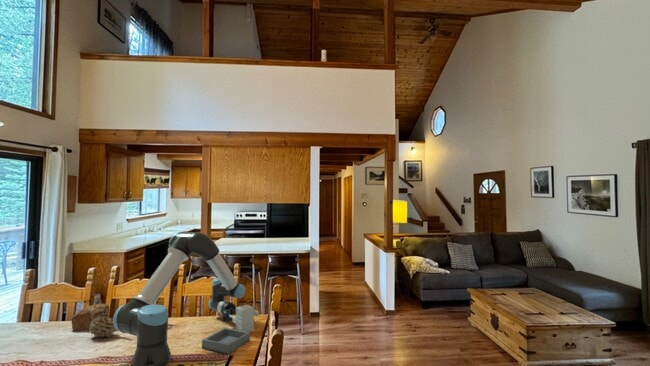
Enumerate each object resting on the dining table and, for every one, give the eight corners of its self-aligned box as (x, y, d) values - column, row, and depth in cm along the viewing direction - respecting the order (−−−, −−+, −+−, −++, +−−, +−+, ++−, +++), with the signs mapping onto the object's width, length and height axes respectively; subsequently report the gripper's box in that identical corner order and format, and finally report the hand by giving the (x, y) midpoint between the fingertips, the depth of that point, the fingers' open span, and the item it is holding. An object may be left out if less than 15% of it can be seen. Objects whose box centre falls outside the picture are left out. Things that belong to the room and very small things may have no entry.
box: (201, 348, 149) (202, 339, 149) (224, 335, 163) (224, 327, 164) (228, 354, 143) (228, 345, 143) (249, 340, 157) (249, 332, 158)
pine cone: (82, 340, 157) (83, 320, 158) (96, 332, 167) (97, 313, 168) (124, 340, 157) (125, 320, 158) (136, 333, 166) (137, 314, 167)
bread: (91, 330, 171) (92, 311, 171) (69, 331, 169) (70, 312, 170) (109, 317, 189) (110, 301, 190) (90, 318, 188) (91, 301, 188)
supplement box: (247, 327, 175) (247, 304, 176) (253, 331, 169) (254, 307, 170) (235, 330, 170) (235, 306, 171) (241, 334, 164) (241, 310, 165)
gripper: (244, 309, 192) (265, 318, 178) (206, 320, 173) (226, 331, 159) (245, 297, 192) (266, 304, 178) (206, 307, 174) (226, 316, 160)
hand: (247, 317), depth 169 cm, fingers open, 13 cm apart
